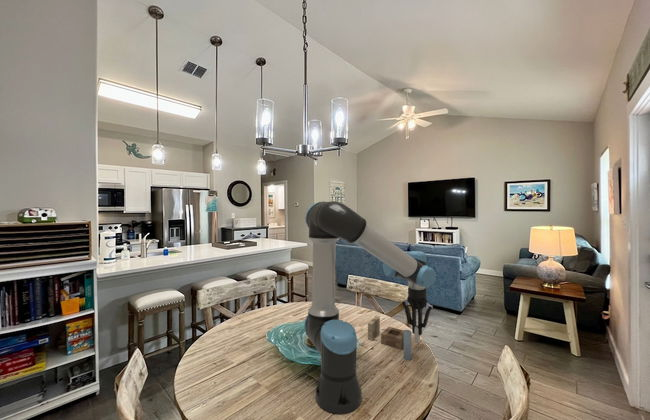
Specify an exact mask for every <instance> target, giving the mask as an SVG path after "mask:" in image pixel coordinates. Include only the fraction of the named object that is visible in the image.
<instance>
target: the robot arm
mask: <svg viewBox="0 0 650 420" xmlns="http://www.w3.org/2000/svg"><path fill="white" fill-rule="evenodd" d="M304 219H305V223H306V226H307V227H308V239H310V241H311V242H312V287H311V288H312V289H311V290H312V291H311V293H312V294H311V306H309V308H308V310H307V316H306V317H305V319H304V323H303V324H304V325H303V326H304V331H305V334H306V337H307V338H308V340H309V341H310V342H311V343H312V345H313V346H314V347H315V349H316V350H317V351H318V353H319V354H320V375H319V378H318V381H317V383H316V387H315V400H316V404H317V405H318V407H320V408H321V409H323V410H324V411H326V412H328V413H331V414H336V415H337V414H338V415H339V414H340V415H344V414H349V413H351V412H354V411H355V410H357V409H358V408H359V406H360V405H361V403H362V394H363V393H362V387H361V386H360V382H359V379H358V378H359V377H358V376H357V345H358V339H357V338H358V337H357V332H356V329H355V327H354V326H353V325H352V324H351V323H349V322H348V321H344V320H343V319H340V316H339V315H340V310H339V308H338V307H337V306H336V262H337V261H336V260H337V259H336V256H337V255H336V253H337V250H336V249H337V248H336V247H337V241H339V240H340V238H341V239H342V240H344V241H345V242H347V243H349V244H355V245H357V246H358V247H360V248H362V249H363V250H365V252H368V253H370V254H371V255H372V256H373V257H375V258H377V259H378V260H379V261H381V262H382V263H383V264H382V271H383V273H384V276H386V277H387V278H393V279H394V278H400V279H402V280H405V281H407V286H408V287H407V298H406V299H404V300H403V301H402V302H401V305H402V306H403V308H404V312H405V316H406V321H407V324H408V325H411V327H412V329H411V330H412V331H411V334H413V335H414V343H416V344H419V343H420V341H421V336H422V334H423V328H424V329H425V328H426V326H427V324H428V321H429V318H430V314H431V310H432V309H433V307H434V306H433V305H432V304H430V303H428V300H427V288H429V287H431V286H432V285H434V283H435V281H436V276H437V275H436V272H435V269H434V268H432V267H430V266H428V265H427V264H428V263H427V254H426V252H423V251H419V250H412V251H408V252H405V251H404V250H403V249H401V248H400V247H398V246H397V245H396V244H395V243H393V242H392V241H391V240H389V239H388V238H386V237H385V236H383V235H382V234H381V233H380V232H378V231H377V230H375V229H374V228H372V227H371V226H369V224H368V221H367V220H366V219H365V218H364V217H362V216H361V215H360V214H359V213H357V212H356V211H354V210H353V209H351V208H350V207H349V206H348V205H345V204H344V203H342V202H339V201H334V200H333V201H325V200H324V201H319V202H315V203H313V204H312V205H310V206H309V208H308V209H307V211H306V213H305V218H304ZM425 307H426V308H425ZM410 308H411V309H410ZM424 308H425V309H426V311H425V315H424V318H423V310H424Z"/></svg>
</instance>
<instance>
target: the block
mask: <svg viewBox="0 0 650 420" xmlns="http://www.w3.org/2000/svg"><path fill="white" fill-rule="evenodd" d="M404 330H405V329H399V328H396V327H392V326H387V327H386V329H384V330H383V331H382V332H380V334H381V335H380V344H381V345H384V346H387V347H390V348H395V349H398V350H402V349H403V348H404Z"/></svg>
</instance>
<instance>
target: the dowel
mask: <svg viewBox="0 0 650 420" xmlns="http://www.w3.org/2000/svg"><path fill="white" fill-rule="evenodd" d="M403 330H404V346H403V359H404V360H405V361H411V360H412V331H411V330H409V329H403Z"/></svg>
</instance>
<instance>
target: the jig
mask: <svg viewBox="0 0 650 420" xmlns="http://www.w3.org/2000/svg"><path fill="white" fill-rule="evenodd" d="M380 321H381V319H380V317H378V316H374V318H372V319H371V320H370V321H368V322H367V340H368V341H370V342H371V341H372V342H373V341H374V340H375V339H376V338H377V337H378V335H380V334H381V330H380V329H381V326H380V325H381V324H380V323H381V322H380Z"/></svg>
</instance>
